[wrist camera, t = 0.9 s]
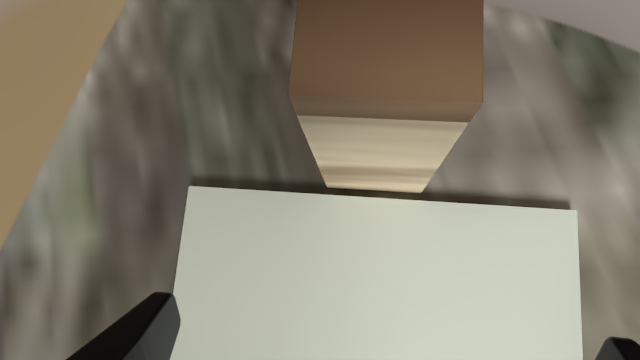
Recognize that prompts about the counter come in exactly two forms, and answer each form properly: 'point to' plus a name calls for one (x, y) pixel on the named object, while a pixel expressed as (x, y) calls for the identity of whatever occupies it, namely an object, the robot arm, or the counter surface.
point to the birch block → (385, 86)
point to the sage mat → (374, 279)
